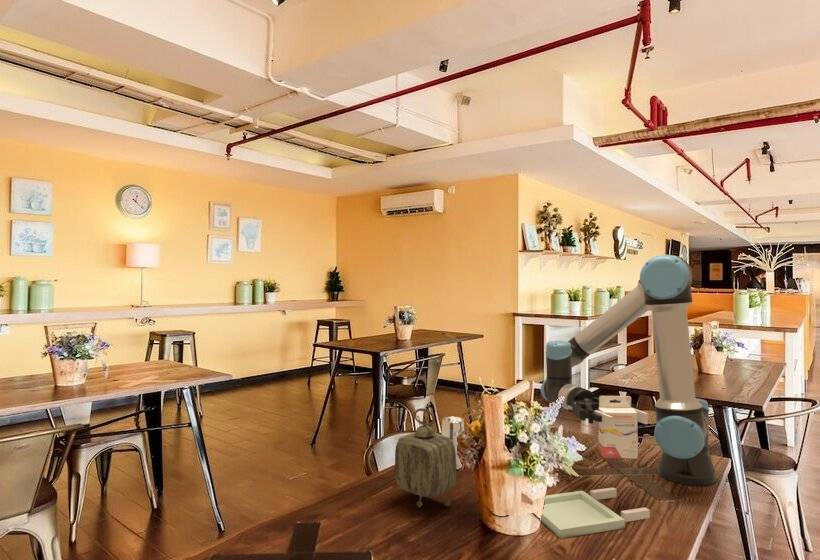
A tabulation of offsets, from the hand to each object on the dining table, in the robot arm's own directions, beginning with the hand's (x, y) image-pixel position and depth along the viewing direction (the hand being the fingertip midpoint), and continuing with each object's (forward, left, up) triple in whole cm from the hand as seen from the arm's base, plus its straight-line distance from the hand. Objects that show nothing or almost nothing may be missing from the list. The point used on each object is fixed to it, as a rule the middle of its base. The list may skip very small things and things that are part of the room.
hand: (629, 420), depth 128 cm
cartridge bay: (0, -4, -24) cm, 24 cm away
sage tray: (+14, -3, -24) cm, 28 cm away
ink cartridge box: (0, -4, -10) cm, 11 cm away
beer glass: (+31, -42, -24) cm, 58 cm away
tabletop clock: (+47, -20, -24) cm, 56 cm away
